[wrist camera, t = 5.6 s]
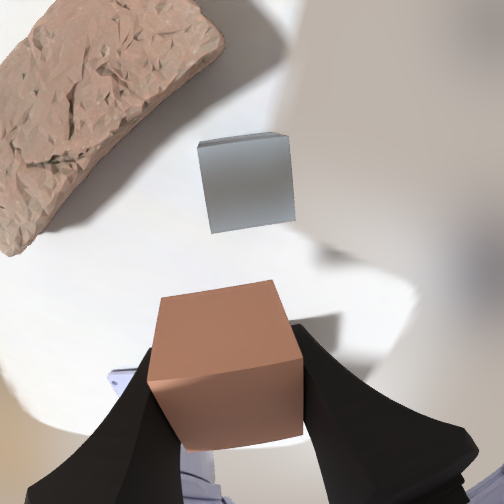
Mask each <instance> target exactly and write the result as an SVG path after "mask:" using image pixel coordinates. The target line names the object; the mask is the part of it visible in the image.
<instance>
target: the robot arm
mask: <svg viewBox="0 0 504 504" xmlns="http://www.w3.org/2000/svg"><path fill="white" fill-rule="evenodd" d="M291 328H292V331H293V333H294V336H295V338H296V341H297V343H298V346H299V348H300V351H301V354H302V356H303V421H304V423H305V426H306V428H307V431H308V433H309V436H310V438H311V441H312V443H313V446H314V449H315V452H316V456H317V459H318V463H319V466H320V469H321V474H322V477H323V481H324V485H325V489H326V492H327V496H328V500H329V504H504V464H503V465H502V466H501V467H500V468H499V469H498V470H496V471H495V472H494V473H492V474H491V475H490V476H488V477H487V478H485V479H484V480H483V481H481V482H480V483H478V484H477V485H475V486H474V487H473V488H471V489H469V490H468V491H466V492H465V490H464V488H463V487H462V484H463V483H464V481H465V480H464V478H463V476H462V475H461V473H462V472H463V471H464V470H465V469H466V468H467V467H468V466H469V465H470V464H471V462H473V461H474V459H475V458H476V457H477V455H478V453H479V449H478V447H477V446H476V444H475V443H474V441H473V439H472V438H471V436H470V435H469V434H468V433H467V432H466V430H465V429H464V428H462V427H459V426H455V425H452V424H448V423H445V422H441V421H438V420H435V419H432V418H430V417H427V416H425V415H422V414H420V413H417V412H415V411H413V410H411V409H409V408H407V407H405V406H403V405H401V404H399V403H397V402H395V401H393V400H391V399H389V398H388V397H386V396H384V395H383V394H381V393H379V392H378V391H376V390H375V389H373V388H372V387H370V386H369V385H367V384H366V383H364V382H363V381H362V380H360V379H359V378H357V377H356V376H355V375H354V374H352V373H351V372H350V371H349V370H347V369H346V368H345V367H344V366H343V365H341V364H340V363H339V362H338V361H337V360H336V359H335V358H334V357H332V356H331V355H330V354H329V353H328V352H327V351H326V350H325V349H324V348H323V347H322V346H321V345H320V344H319V343H318V342H317V341H316V340H315V339H314V338H313V337H312V336H311V335H310V334H309V332H308V331H307V330H306V329H305V328H304V327H303V326H302V325H301V324H296V325H291ZM151 351H152V348H149V350H148V351H147V353H146V354H145V356H144V358H143V360H142V361H141V363H140V365H139V367H138V368H137V370H134V371H121V372H109V373H108V375H107V379H108V381H109V383H110V384H111V386H112V388H113V389H114V391H115V392H116V394H117V396H118V397H119V399H118V401H117V402H116V403H115V405H114V406H113V408H112V409H111V411H110V412H109V414H108V415H107V416H106V418H105V419H104V420H103V422H102V423H101V424H100V425H99V427H98V428H97V429H96V430H95V431H94V433H93V434H92V435H91V436H90V437H89V438H88V439H87V440H86V441H85V443H84V444H82V445H81V447H80V448H79V449H78V450H77V451H76V452H75V453H74V454H73V455H71V456H70V457H69V458H68V459H67V460H66V461H65V462H64V463H63V464H61V465H60V466H59V467H57V468H56V469H55V470H54V471H52V472H51V473H50V474H48V475H47V476H46V477H44V478H43V479H41V480H40V481H38V482H37V483H35V484H34V485H32V486H30V487H29V488H28V490H27V494H26V499H25V503H24V504H235V503H234V502H233V500H232V499H230V498H229V497H226V496H222V495H221V487H220V485H219V484H214V483H215V470H214V458H213V450H211V451H201V452H187V451H186V449H185V448H184V446H183V444H182V443H181V441H180V440H179V438H178V436H177V435H176V433H175V431H174V430H173V428H172V426H171V425H170V423H169V421H168V420H167V418H166V416H165V414H164V412H163V411H162V409H161V407H160V405H159V404H158V402H157V400H156V398H155V396H154V394H153V392H152V390H151V389H150V387H149V385H148V383H147V377H148V370H149V364H150V358H151ZM115 381H116V382H115Z"/></svg>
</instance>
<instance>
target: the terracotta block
mask: <svg viewBox="0 0 504 504" xmlns="http://www.w3.org/2000/svg"><path fill="white" fill-rule="evenodd" d="M147 383H148V385H149V387H150V389H151V390H152V392H153V394H154V396H155V398H156V400H157V402H158V404H159V405H160V407H161V409H162V411H163V412H164V414H165V416H166V418H167V420H168V421H169V423H170V425H171V426H172V428H173V430H174V431H175V433H176V435H177V436H178V438H179V440H180V441H181V443H182V444H183V446H184V448H185V449H186V451H187V452H201V451H211V450H220V449H228V448H236V447H243V446H249V445H255V444H261V443H267V442H272V441H277V440H282V439H287V438H291V437H296V436H300V435H303V356H302V354H301V351H300V348H299V346H298V343H297V341H296V338H295V336H294V333H293V331H292V328H291V326H290V323H289V320H288V318H287V315H286V313H285V310H284V308H283V305H282V303H281V300H280V298H279V295H278V293H277V290H276V288H275V285H274V283H273V280H267V281H262V282H256V283H250V284H244V285H238V286H233V287H227V288H220V289H214V290H208V291H202V292H196V293H189V294H183V295H176V296H170V297H163V298H161V302H160V307H159V312H158V318H157V323H156V328H155V334H154V340H153V345H152V351H151V358H150V364H149V370H148V377H147Z"/></svg>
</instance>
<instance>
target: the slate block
mask: <svg viewBox="0 0 504 504" xmlns="http://www.w3.org/2000/svg"><path fill="white" fill-rule="evenodd" d="M197 151H198V157H199V164H200V170H201V176H202V183H203V189H204V195H205V201H206V207H207V212H208V218H209V224H210V230H211V234H214V233H220V232H226V231H233V230H239V229H245V228H251V227H258V226H264V225H271V224H277V223H284V222H290V221H295V206H294V192H293V181H292V180H293V179H292V168H291V156H290V146H289V136H285V135H281V134H277V133H273V132H268V133H259V134H250V135H242V136H235V137H227V138H220V139H214V140H208V141H201V142H199V145H198V147H197Z"/></svg>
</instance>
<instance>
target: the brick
mask: <svg viewBox="0 0 504 504" xmlns="http://www.w3.org/2000/svg"><path fill="white" fill-rule="evenodd" d="M224 49H225V40H224V36H223V34H222V33H221V31H220V30H219V29H218V28H217V27H216V26H215V24H214V23H213V22H212V21H211V20H210V19H208V18H207V17H206V16H205V15H203V12H202V9H201V7H200V6H199V5H198V4H197V3H196V2H195V1H194V0H56V1H55V2H54V3H53V4H52V5H51V6H50V7H49V8H48V10H47V11H46V13H45V14H44V16H42V17H41V18H40V19H39V20H38V21H37V22H36V24H35V25H34V26H33V28H32V30H31V31H30V33H29V35H28V37H27V38H25V39H24V40H23V41H21V42H20V43H18V45H17V46H16V47H15V48H14V50H13V51H12V52H11V53H10V54H9V55H8V56H7V58H6V59H5V60H4V61H3V63H2V64H1V65H0V250H1V252H2V253H4V254H5V255H7V256H8V257H12V256H14V255H18V254H21V253H22V252H23V251H24V250H25V249H26V248H27V246H29V245H31V243H32V242H33V241H34V240H35V238H36V237H37V235H38V234H39V233H41V232H42V231H43V230H44V228H45V227H46V226H47V225H48V224H49V223H50V222H51V220H52V219H53V217H54V216H55V214H56V213H57V212H58V210H59V209H60V207H61V206H62V204H63V203H64V201H65V200H66V199H67V198H68V197H69V195H70V194H71V193H72V192H73V191H74V189H75V188H76V187H77V186H78V185H79V184H80V183H81V182H82V181H83V180H85V179H86V178H87V177H88V175H89V173H90V172H91V170H92V169H93V167H94V166H95V165H96V164H97V163H98V162H99V161H100V160H101V159H102V158H103V157H104V156H105V155H107V154H108V153H109V152H110V151H111V150H112V149H113V147H114V146H115V145H116V144H117V143H118V142H119V141H120V140H121V139H122V138H124V137H125V136H126V135H127V134H128V133H129V132H130V131H131V130H132V129H133V128H134V127H135V126H136V125H137V124H138V123H139V122H140V121H141V120H143V119H144V118H145V117H146V116H147V115H149V114H150V113H151V112H152V110H153V109H154V108H155V107H156V106H158V105H159V104H160V103H161V102H162V101H164V100H165V99H166V98H167V97H168V96H170V95H171V94H172V93H174V92H175V91H176V90H177V89H179V88H180V87H181V86H182V85H184V84H185V83H186V82H187V81H189V80H190V79H191V78H192V77H193V76H194V75H196V74H197V73H199V72H200V71H202V70H204V69H205V68H206V67H207V66H208V65H210V64H211V63H213V62H214V61H215V60H216V59H217V58H218V57H219V56H220V55H221V54H222V53H223V50H224Z"/></svg>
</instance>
